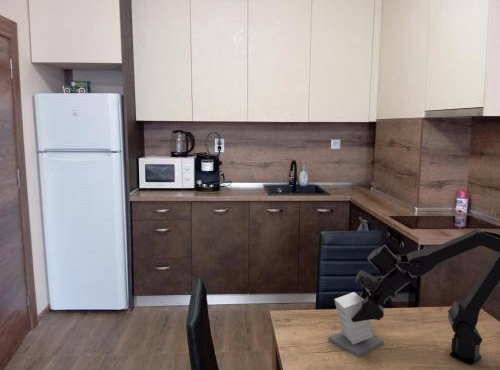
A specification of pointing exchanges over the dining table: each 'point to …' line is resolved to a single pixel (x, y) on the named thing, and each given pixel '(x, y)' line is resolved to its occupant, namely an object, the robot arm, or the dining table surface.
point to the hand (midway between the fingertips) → (352, 313)
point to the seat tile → (358, 348)
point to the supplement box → (346, 311)
